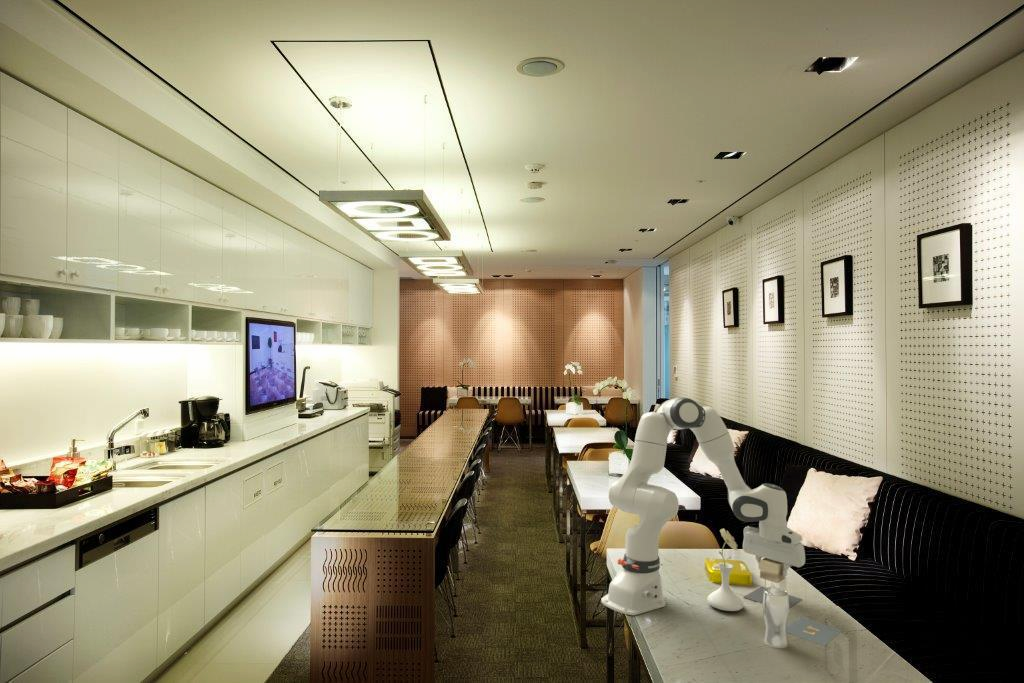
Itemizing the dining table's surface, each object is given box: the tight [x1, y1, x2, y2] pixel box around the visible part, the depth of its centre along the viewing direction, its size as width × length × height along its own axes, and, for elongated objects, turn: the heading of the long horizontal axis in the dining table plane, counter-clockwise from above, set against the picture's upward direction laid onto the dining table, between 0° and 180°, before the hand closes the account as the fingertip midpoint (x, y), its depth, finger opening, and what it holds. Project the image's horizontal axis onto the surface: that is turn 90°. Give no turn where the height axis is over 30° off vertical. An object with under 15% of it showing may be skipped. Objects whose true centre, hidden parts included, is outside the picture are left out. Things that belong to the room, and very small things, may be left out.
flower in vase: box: [706, 528, 745, 612], centre depth 192 cm, size 13×11×25 cm
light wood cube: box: [759, 558, 786, 584], centre depth 198 cm, size 6×6×6 cm
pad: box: [743, 585, 803, 609], centre depth 197 cm, size 14×14×1 cm
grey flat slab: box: [786, 616, 842, 647], centre depth 175 cm, size 14×12×1 cm
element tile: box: [704, 557, 753, 587], centre depth 217 cm, size 15×15×5 cm
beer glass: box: [762, 586, 790, 649], centre depth 167 cm, size 7×7×15 cm
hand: (772, 572), depth 198 cm, fingers closed on light wood cube, 6 cm apart
